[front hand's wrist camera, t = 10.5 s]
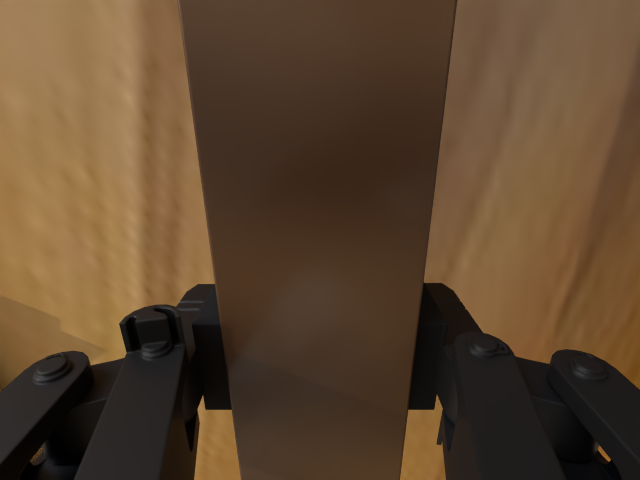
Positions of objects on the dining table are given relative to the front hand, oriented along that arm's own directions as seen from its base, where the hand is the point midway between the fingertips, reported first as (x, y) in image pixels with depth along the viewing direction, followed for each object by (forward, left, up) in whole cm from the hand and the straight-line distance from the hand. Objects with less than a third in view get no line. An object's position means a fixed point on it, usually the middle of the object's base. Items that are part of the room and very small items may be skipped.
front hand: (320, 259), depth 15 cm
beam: (+19, -21, -1) cm, 29 cm away
